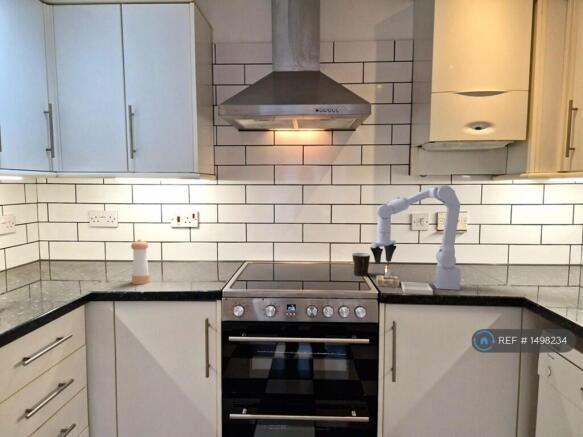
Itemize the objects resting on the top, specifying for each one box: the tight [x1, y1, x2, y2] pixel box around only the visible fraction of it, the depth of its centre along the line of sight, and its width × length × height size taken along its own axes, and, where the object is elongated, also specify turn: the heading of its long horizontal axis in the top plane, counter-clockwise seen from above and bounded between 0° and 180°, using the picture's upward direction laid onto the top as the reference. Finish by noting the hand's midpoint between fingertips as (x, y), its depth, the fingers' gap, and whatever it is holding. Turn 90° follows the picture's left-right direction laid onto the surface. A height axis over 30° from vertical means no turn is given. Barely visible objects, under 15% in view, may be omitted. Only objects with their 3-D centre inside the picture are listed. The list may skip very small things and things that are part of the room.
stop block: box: [376, 274, 400, 288], centre depth 165 cm, size 9×9×2 cm
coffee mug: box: [352, 252, 371, 277], centre depth 180 cm, size 12×9×10 cm
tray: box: [400, 281, 434, 296], centre depth 155 cm, size 11×11×2 cm
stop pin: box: [384, 265, 392, 279], centre depth 165 cm, size 2×2×8 cm
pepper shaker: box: [130, 238, 151, 285], centre depth 164 cm, size 7×7×19 cm
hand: (383, 262), depth 164 cm, fingers open, 7 cm apart
